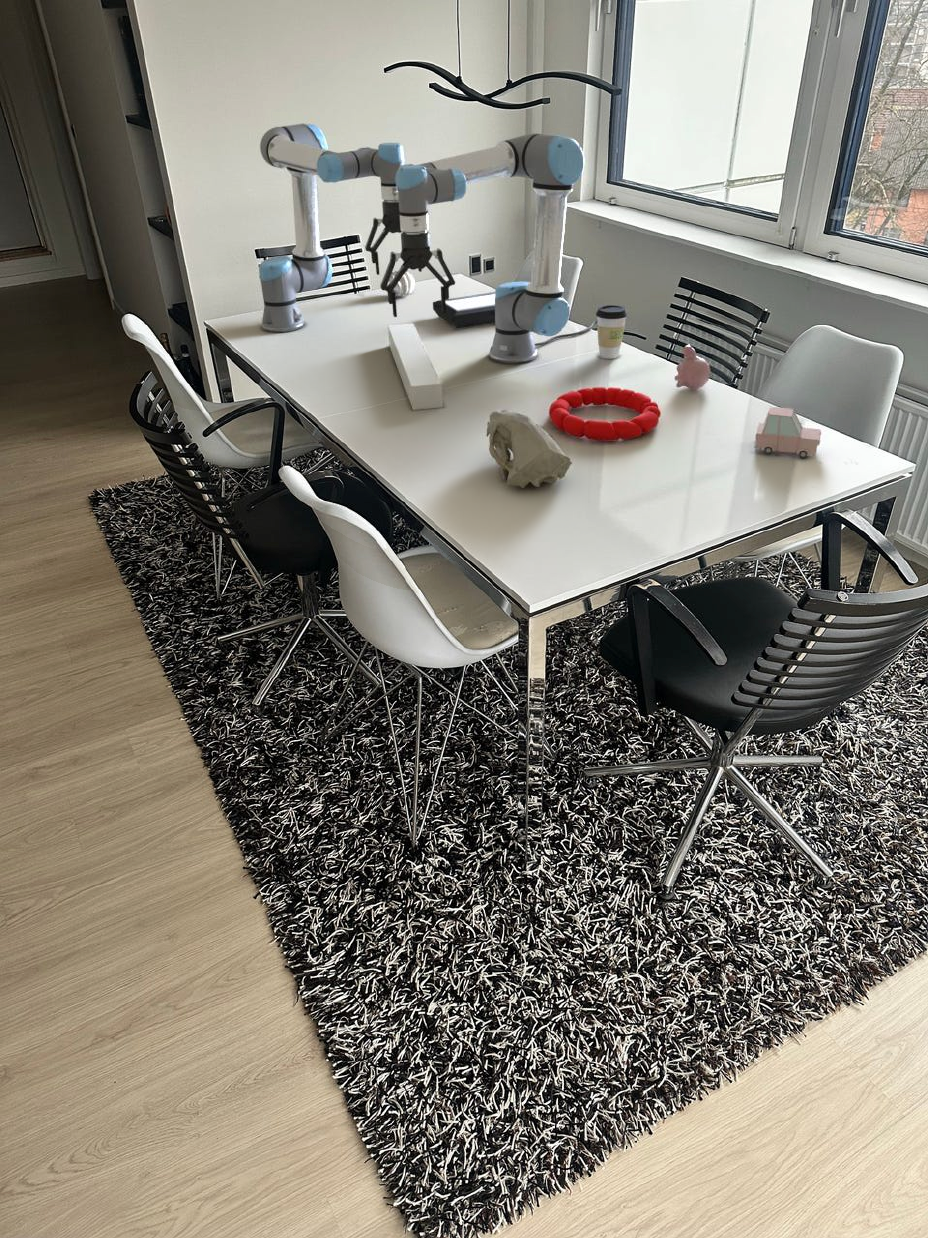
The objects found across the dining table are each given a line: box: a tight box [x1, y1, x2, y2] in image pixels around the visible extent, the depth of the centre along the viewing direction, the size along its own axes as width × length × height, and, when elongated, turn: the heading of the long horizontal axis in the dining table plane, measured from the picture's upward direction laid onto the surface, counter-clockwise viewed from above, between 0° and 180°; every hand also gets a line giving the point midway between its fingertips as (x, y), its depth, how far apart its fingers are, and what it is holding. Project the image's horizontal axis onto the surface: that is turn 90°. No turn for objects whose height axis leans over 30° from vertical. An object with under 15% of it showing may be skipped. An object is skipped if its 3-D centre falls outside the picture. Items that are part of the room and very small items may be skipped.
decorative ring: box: [548, 386, 661, 442], centre depth 242 cm, size 7×30×30 cm
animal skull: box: [485, 409, 573, 489], centre depth 216 cm, size 17×25×20 cm
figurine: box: [674, 344, 711, 390], centre depth 259 cm, size 9×11×12 cm
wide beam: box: [387, 323, 443, 411], centre depth 278 cm, size 60×9×7 cm, turn 10°
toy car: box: [753, 406, 822, 459], centre depth 222 cm, size 9×15×10 cm, turn 70°
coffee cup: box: [595, 304, 628, 360], centre depth 285 cm, size 10×10×15 cm
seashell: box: [387, 270, 416, 298], centre depth 353 cm, size 10×15×10 cm
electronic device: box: [432, 291, 495, 330], centre depth 326 cm, size 32×6×20 cm
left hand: (399, 272), depth 285 cm, fingers open, 13 cm apart
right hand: (419, 313), depth 246 cm, fingers open, 13 cm apart
